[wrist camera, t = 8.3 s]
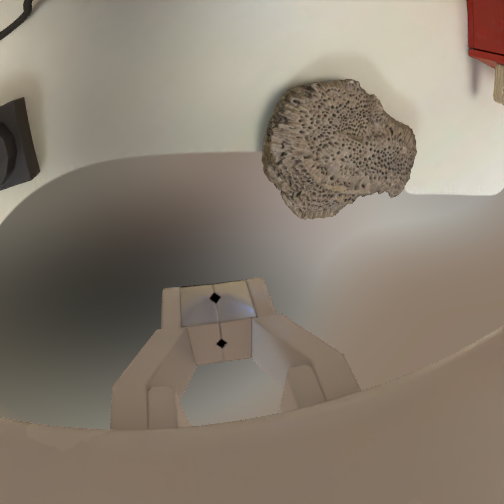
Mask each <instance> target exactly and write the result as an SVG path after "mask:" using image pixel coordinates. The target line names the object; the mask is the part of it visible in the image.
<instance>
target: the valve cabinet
mask: <svg viewBox="0 0 504 504" xmlns="http://www.w3.org/2000/svg"><path fill="white" fill-rule="evenodd" d="M467 9H468V33H469V48H471V49H473V50H477V51H482V52H487V53H492V54H496V55H500V56H504V0H467Z"/></svg>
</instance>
